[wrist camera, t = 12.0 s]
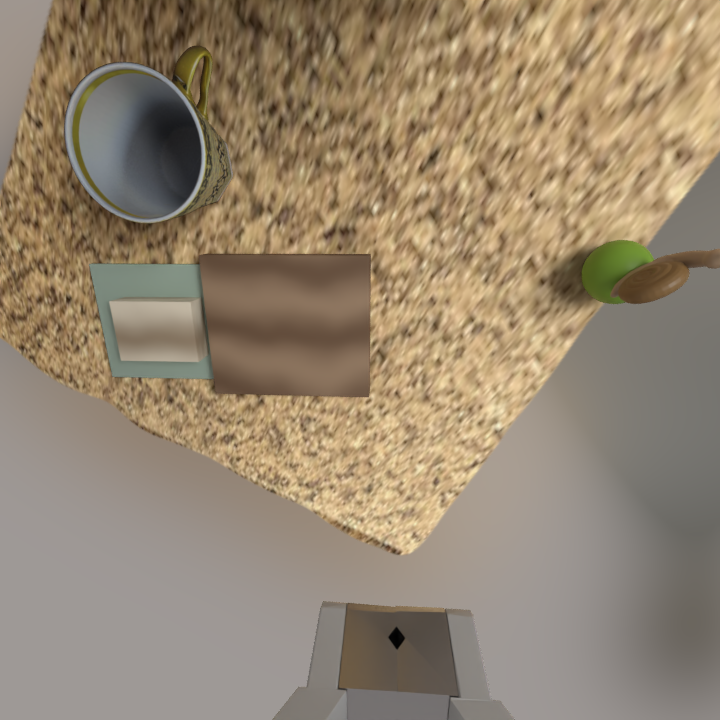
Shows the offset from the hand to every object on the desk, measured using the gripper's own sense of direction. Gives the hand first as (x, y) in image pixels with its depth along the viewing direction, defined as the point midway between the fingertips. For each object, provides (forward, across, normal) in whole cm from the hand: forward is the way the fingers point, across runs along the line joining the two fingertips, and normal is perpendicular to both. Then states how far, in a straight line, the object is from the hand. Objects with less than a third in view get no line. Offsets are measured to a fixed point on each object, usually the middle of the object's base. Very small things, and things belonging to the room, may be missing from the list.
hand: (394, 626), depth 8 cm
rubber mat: (+34, +24, +2) cm, 42 cm away
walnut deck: (+34, +10, +2) cm, 35 cm away
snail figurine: (+34, -20, -4) cm, 40 cm away
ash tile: (+34, +23, +2) cm, 41 cm away
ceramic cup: (+34, +17, -14) cm, 41 cm away
